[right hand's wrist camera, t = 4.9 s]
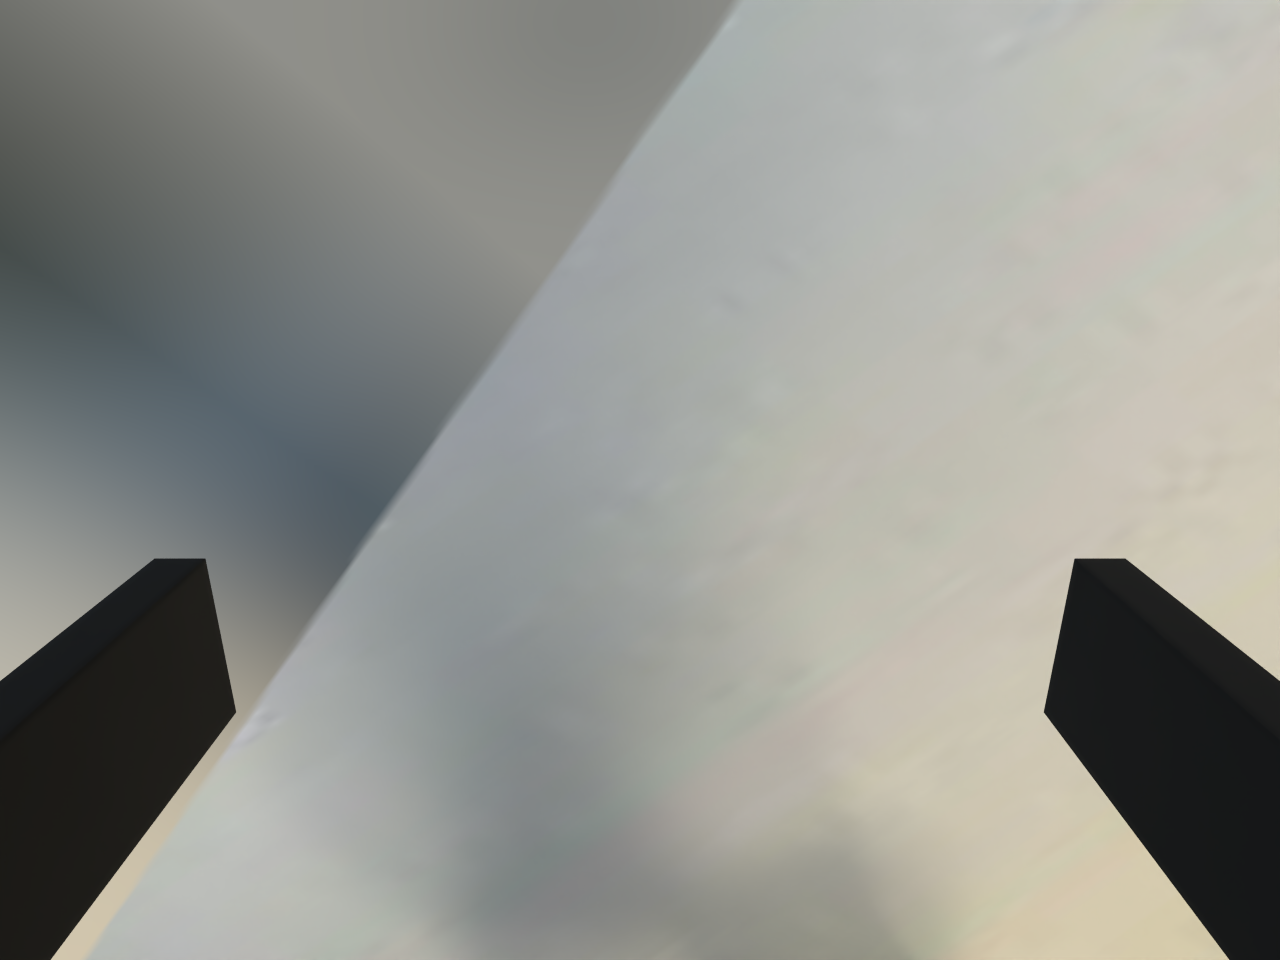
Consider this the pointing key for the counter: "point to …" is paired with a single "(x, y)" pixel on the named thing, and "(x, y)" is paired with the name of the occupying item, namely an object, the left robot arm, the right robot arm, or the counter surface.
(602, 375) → the counter surface
